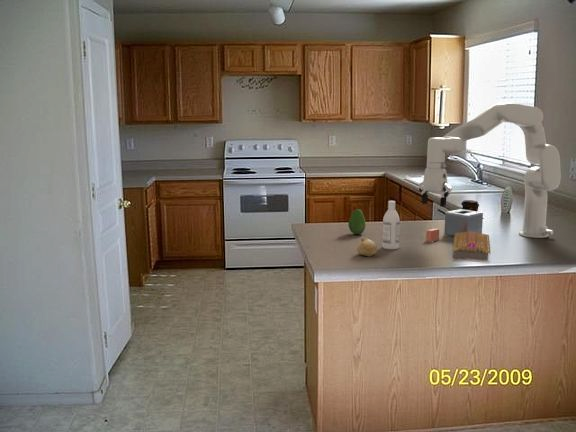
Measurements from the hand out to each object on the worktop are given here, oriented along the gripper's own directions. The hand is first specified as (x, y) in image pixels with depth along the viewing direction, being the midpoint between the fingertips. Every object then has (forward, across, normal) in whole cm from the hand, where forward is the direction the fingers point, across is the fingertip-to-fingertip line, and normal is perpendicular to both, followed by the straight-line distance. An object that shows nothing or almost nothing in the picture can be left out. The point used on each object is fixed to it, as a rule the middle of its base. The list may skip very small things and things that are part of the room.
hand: (433, 204), depth 267 cm
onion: (+17, +1, +42) cm, 45 cm away
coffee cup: (+16, +7, -39) cm, 43 cm away
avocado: (+16, +31, +16) cm, 38 cm away
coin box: (+16, -3, -19) cm, 25 cm away
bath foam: (+16, +3, +25) cm, 30 cm away
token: (+16, 0, 0) cm, 16 cm away
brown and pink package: (+17, -21, +2) cm, 27 cm away
